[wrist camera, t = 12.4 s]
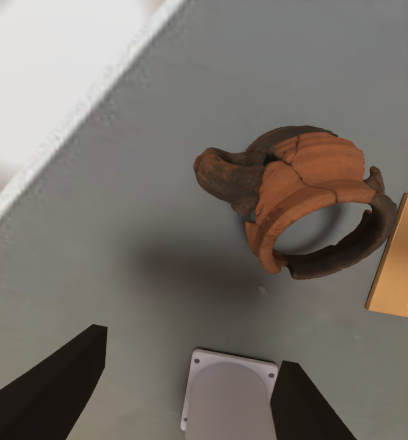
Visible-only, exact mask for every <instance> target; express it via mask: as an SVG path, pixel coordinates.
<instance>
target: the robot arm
mask: <svg viewBox="0 0 408 440" xmlns="http://www.w3.org/2000/svg"><path fill="white" fill-rule="evenodd" d="M107 329H108V327H105V326H100V325H95V324H93V325H91V326H90V327H88V328H87V329H86V330H84V331H83V332H81V333H80V334H79V335H77V336H76V337H75V338H73V339H72V340H71V341H69V342H68V343H67V344H65V345H64V346H63V347H61V348H60V349H58V350H57V351H56V352H54V353H53V354H52V355H50V356H49V357H47V358H46V359H45V360H43V361H42V362H40V363H39V364H37V365H36V366H35V367H33V368H32V369H30V370H29V371H28V372H26V373H25V374H23V375H22V376H20V377H19V378H17V379H16V380H14V381H13V382H11V383H10V384H8V385H7V386H5V387H4V388H2V389H1V390H0V440H66V438H67V436H68V435H69V433H70V431H71V430H72V428H73V426H74V425H75V423H76V421H77V419H78V418H79V416H80V414H81V413H82V411H83V409H84V407H85V406H86V404H87V402H88V401H89V399H90V397H91V395H92V393H93V391H94V389H95V387H96V385H97V383H98V380H99V378H100V376H101V374H102V372H103V370H104V368H105V357H106V343H107ZM196 359H199V360H196ZM270 373H272V374H270ZM277 373H278V368H277V366H276V365H275V364H274V363H269V362H264V361H259V360H254V359H248V358H243V357H238V356H233V355H227V354H222V353H217V352H212V351H206V350H201V349H195V350H194V351H193V354H192V360H191V366H190V372H189V377H188V383H187V389H186V395H185V400H184V406H183V412H182V418H181V424H180V428H181V429H182V430H183V431H185V439H184V440H357V439H356V438H355V437H354V436H353V434H352V433H351V432H350V431H349V429H348V428H347V427H346V425H345V424H344V423H343V422H342V420H341V419H340V418H339V416H338V415H337V414H336V413H335V411H334V410H333V409H332V407H331V406H330V405H329V403H328V402H327V401H326V399H325V398H324V397H323V395H322V394H321V393H320V392H319V390H318V389H317V388H316V386H315V385H314V384H313V382H312V381H311V380H310V378H309V377H308V376H307V374H306V373H305V372H304V370H303V369H302V368H301V366H300V365H299V364H298V363H295V362H289V361H284V360H283V361H282V364H281V367H280V371H279V374H278V377H277ZM276 377H277V380H276ZM275 380H276V383H275ZM274 384H275V386H274ZM273 388H274V389H273ZM272 391H273V392H272ZM270 400H271V407H272V414H271V410H270V405H269V402H270ZM272 415H273V418H272ZM273 421H274V423H273Z"/></svg>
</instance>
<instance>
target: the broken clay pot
mask: <svg viewBox="0 0 408 440" xmlns="http://www.w3.org/2000/svg"><path fill="white" fill-rule="evenodd" d="M266 157H269V158H272V159H274V160H277V161H273V162H270V163H268V164H267V165H266V166H264V165H263V161H264V159H265V158H266ZM364 164H365V162H364V158H363V151H361V150H360V149H358V148H357V147H356V146H355V145H354V144H353V143H352V142H351V141H349V140H346V139H343V138H338V135H336V134H334V133H333V132H332V131H329V130H325V129H323V128H317V127H313V126H286V127H280V128H277V129H274V130H271V131H269V132H267V133H265V134H263V135H262V136H260V137H259V138H258V139H257V140H256V141H254V142H253V143H252V144H251V145H250V146H249V147H248V148H247V150H246V152H242V153H229V152H226V151H223V150H221V149H217V148H207V149H206V150H205V151H204V152H203V153H202V154H201V155H200V156H198V157H197V158H196V160H195V163H194V171H195V174H196V178H197V181H198V183H199V184H200V186H201V187H202V188H203V189H204V190H205V191H207V192H208V193H210V194H212V195H213V196H215V197H217V198H219V199H221V200H224V201H227V202H229V203H231V206H232V208H233V210H235V211H237V212H238V213H239V214H242V215H247V214H249V213H251V212H252V211H253V209H255V216H256V220H255V221H252V220H247V221H246V222H245V228H246V235H247V239H248V243H249V245H250V247H251V249H252V251H253V253H254V254H255V255H256V256H257V257H258V258H259V261H260V263H261V264H262V267H263V268H265V269H266V270H267V271H268V272H270V273H272V274H276V273H278V272H280V271H281V266H284V267H288V269H289V271H290V274H291V276H292V278H294V279H296V280H301V279H303V280H305V279H312V278H319V277H322V276H327V275H330V274H333V273H336V272H338V271H341V270H342V269H344V268H347V267H350V266H352V265H354V264H356V263H358V262H359V261H361V260H362V259H364V258H366V257H367V256H369V255H370V254H371V253H373V252H374V251H375V250H376V249H378V248H379V247H380V246H381V245H382V244H383V243H384V242H385V241H386V239H387V238H388V237H389V235H390V234H391V232H392V230H393V228H394V225H395V224H396V222H397V213H398V211H397V205H396V203H394V202H393V201H392V200H391V198H389V197H388V196H387V195H385V194H384V183H383V179H382V175H381V172H380V170H379V169H378V168H376V167H374V166H372V167H371V168H370V174H371V175H370V176H369V178H368V179H366V180H363V175H364V171H365V169H364ZM345 202H357V203H365V204H368V205H370V206H371V208H372V212H371V211H370V210H365V212H364V213H363V216H362V220H361V222H360V224H359V225H358V226H357V227H356V229H355V230H354V231H353V232H351V233H350V234H348V235H347V236H345V237H344V238H343V239H342V240H340V241H339V242H338V243H337V244H336V245H330V246H327V247H325V248H323V249H320V250H318V251H316V252H313V253H310V254H306V255H284V254H279V253H277V252H276V251H275V250H274V249H273V247H274V245H275V242H276V239H277V237H278V236H279V235H280V234H281V233H282V232H283V231H284V230H285V229H286V228H287V227H289V226H290V225H291V224H293V223H294V222H295V221H297V220H299V219H300V218H302V217H303V216H305V215H307V214H309V213H311V212H313V211H316V210H317V209H320V208H323V207H326V206H330V205H332V204H335V203H345Z"/></svg>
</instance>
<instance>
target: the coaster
mask: <svg viewBox="0 0 408 440" xmlns="http://www.w3.org/2000/svg"><path fill="white" fill-rule="evenodd" d="M365 308H366V309H367V310H370V311H376V312H381V313H387V314H393V315H398V316H404V317H408V193H405V194H404V197H403V199H402V202H401V205H400V208H399V211H398V214H397V222H396V224H395V225H394V228H393V230H392V232H391V234H390V237H389V240H388V243H387V246H386V249H385V251H384V254H383V257H382V260H381V263H380V266H379V269H378V272H377V275H376V277H375V280H374V283H373V286H372V289H371V292H370V295H369V298H368V300H367V303H366V306H365Z"/></svg>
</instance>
